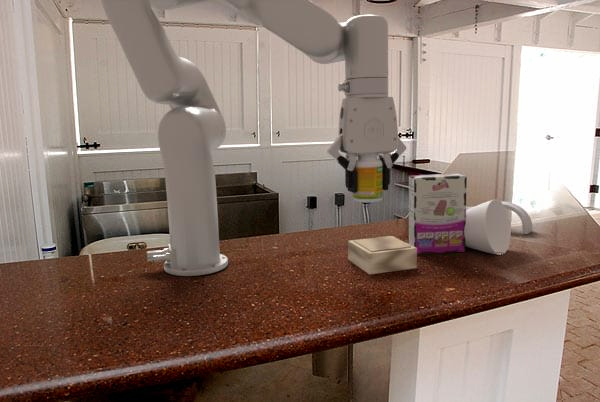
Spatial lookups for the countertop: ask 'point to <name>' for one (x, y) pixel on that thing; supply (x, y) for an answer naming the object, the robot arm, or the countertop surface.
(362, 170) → the supplement bottle
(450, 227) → the candy bar box
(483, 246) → the rocket engine
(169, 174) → the robot arm
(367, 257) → the plinth
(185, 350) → the countertop surface
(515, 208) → the spoon rest
